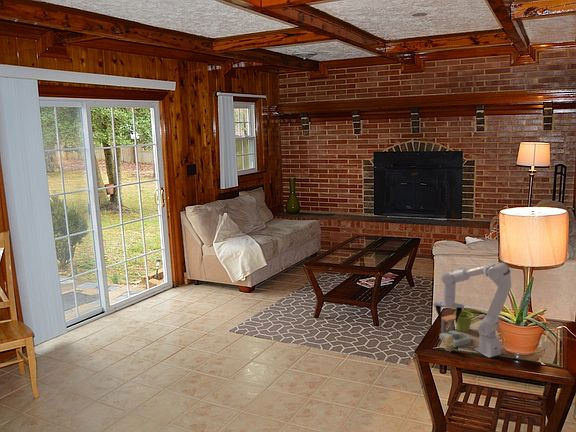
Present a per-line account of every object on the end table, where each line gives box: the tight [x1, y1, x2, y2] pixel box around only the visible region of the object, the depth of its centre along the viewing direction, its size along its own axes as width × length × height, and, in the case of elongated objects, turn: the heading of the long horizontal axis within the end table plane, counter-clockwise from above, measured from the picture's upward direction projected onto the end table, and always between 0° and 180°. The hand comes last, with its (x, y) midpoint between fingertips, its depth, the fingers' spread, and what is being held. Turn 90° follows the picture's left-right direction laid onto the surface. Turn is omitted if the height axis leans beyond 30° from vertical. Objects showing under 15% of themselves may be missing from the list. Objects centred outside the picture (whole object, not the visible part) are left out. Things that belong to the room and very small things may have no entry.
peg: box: [444, 336, 454, 353], centre depth 248 cm, size 4×4×7 cm
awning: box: [440, 314, 456, 334], centre depth 264 cm, size 4×7×10 cm, turn 115°
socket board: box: [438, 329, 472, 348], centre depth 259 cm, size 11×10×2 cm
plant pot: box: [453, 310, 474, 333], centre depth 271 cm, size 9×9×9 cm
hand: (448, 321), depth 259 cm, fingers open, 7 cm apart
